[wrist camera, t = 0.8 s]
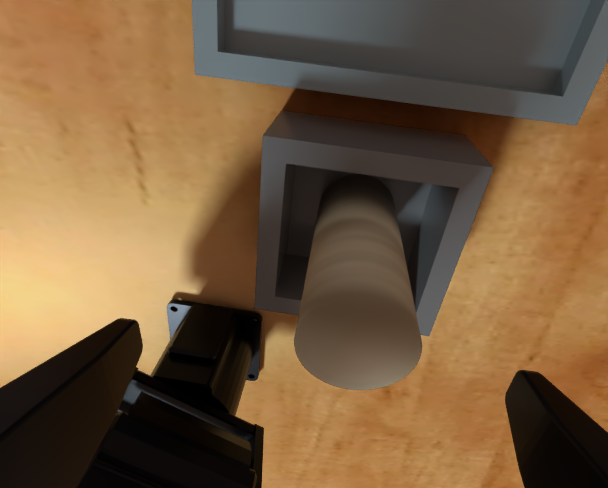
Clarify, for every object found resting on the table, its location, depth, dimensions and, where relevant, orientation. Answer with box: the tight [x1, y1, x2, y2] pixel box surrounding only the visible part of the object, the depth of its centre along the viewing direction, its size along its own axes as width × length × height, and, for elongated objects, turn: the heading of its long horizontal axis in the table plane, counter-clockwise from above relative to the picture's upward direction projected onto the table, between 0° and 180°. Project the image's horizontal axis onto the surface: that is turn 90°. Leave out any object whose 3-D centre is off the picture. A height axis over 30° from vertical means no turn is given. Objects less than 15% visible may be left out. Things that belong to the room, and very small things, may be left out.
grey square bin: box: [255, 111, 494, 336], centre depth 19 cm, size 9×9×4 cm
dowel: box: [294, 174, 422, 390], centre depth 16 cm, size 4×4×10 cm
